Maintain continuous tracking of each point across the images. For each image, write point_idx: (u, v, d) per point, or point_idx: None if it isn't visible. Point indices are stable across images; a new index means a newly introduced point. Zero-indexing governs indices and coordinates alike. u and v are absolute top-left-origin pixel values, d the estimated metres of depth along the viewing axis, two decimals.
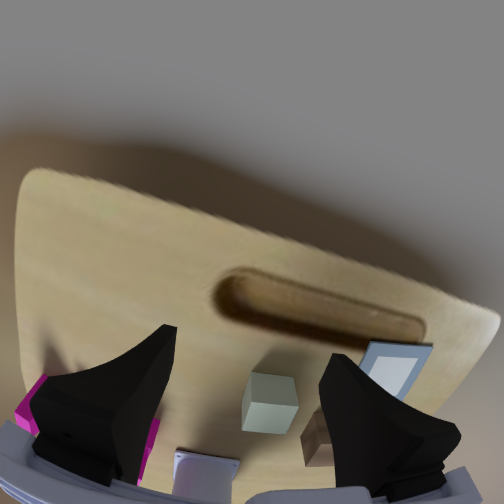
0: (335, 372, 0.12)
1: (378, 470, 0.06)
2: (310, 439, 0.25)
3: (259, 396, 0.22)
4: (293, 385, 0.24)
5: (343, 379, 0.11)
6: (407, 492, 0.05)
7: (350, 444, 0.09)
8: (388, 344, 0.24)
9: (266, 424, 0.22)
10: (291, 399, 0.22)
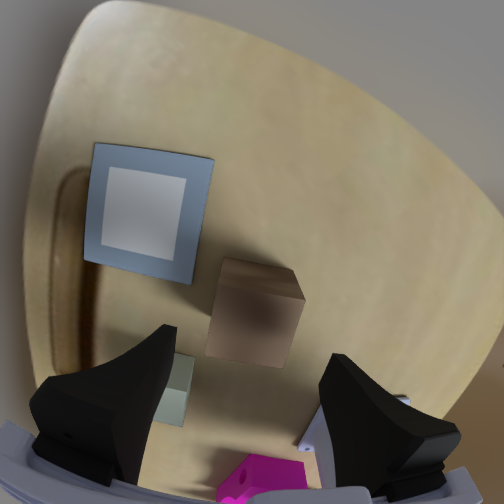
0: (335, 372, 0.12)
1: (378, 470, 0.06)
2: None
3: None
4: None
5: (343, 379, 0.11)
6: (407, 492, 0.05)
7: (350, 444, 0.09)
8: (85, 232, 0.18)
9: (165, 407, 0.17)
10: None
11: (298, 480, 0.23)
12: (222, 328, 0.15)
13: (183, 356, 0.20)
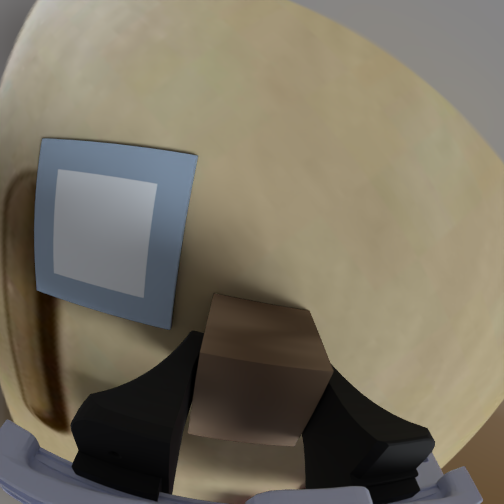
0: None
1: (343, 474, 0.06)
2: None
3: None
4: None
5: None
6: (373, 500, 0.05)
7: (319, 445, 0.09)
8: (35, 256, 0.12)
9: None
10: None
11: None
12: (210, 407, 0.10)
13: None
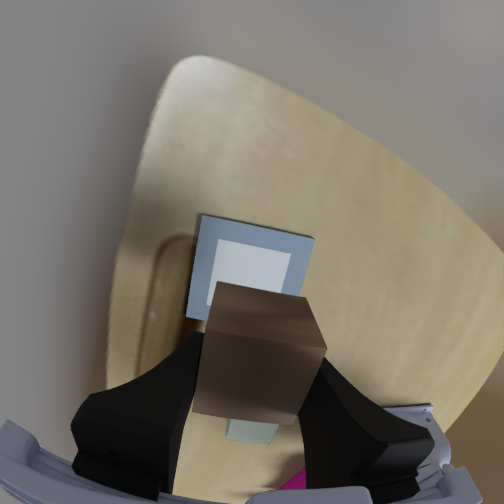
0: None
1: (343, 474, 0.06)
2: None
3: (227, 428, 0.22)
4: None
5: (315, 377, 0.11)
6: (373, 500, 0.05)
7: (319, 445, 0.09)
8: (189, 294, 0.22)
9: (260, 431, 0.21)
10: None
11: None
12: (214, 383, 0.11)
13: None
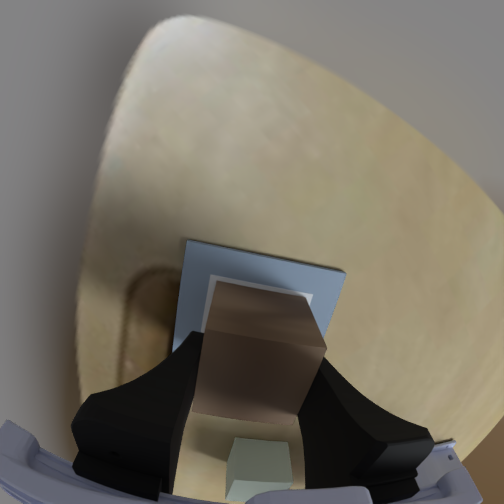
0: None
1: (342, 474, 0.06)
2: None
3: (226, 489, 0.16)
4: (234, 450, 0.17)
5: None
6: (372, 500, 0.05)
7: (318, 445, 0.09)
8: (174, 344, 0.15)
9: None
10: (232, 473, 0.15)
11: None
12: (213, 383, 0.11)
13: (277, 443, 0.18)
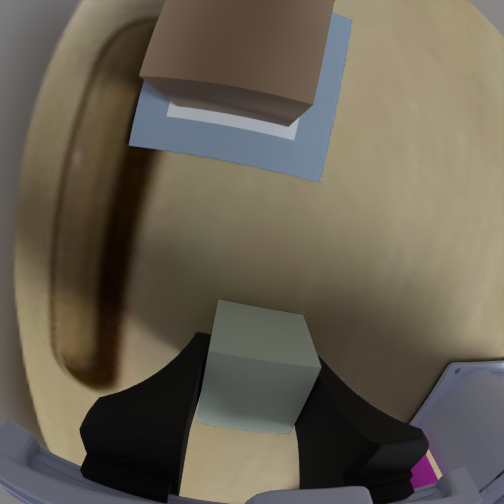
0: None
1: (335, 475, 0.06)
2: (222, 101, 0.08)
3: None
4: (215, 315, 0.12)
5: None
6: None
7: (313, 445, 0.09)
8: (140, 100, 0.10)
9: (271, 403, 0.10)
10: None
11: (426, 468, 0.15)
12: (183, 14, 0.06)
13: (286, 314, 0.13)
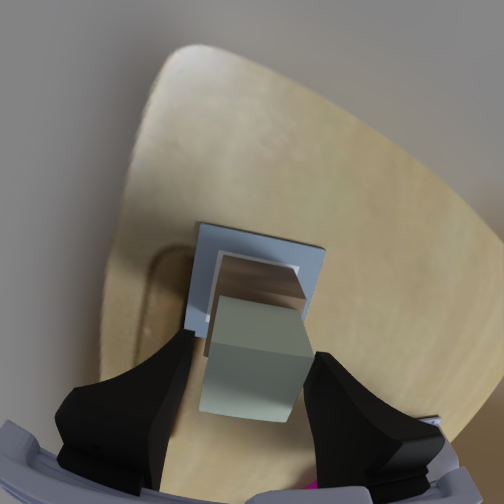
0: (318, 371, 0.12)
1: (356, 473, 0.06)
2: None
3: None
4: None
5: (325, 378, 0.11)
6: (386, 497, 0.05)
7: (331, 445, 0.09)
8: (187, 309, 0.19)
9: (268, 391, 0.11)
10: None
11: None
12: None
13: (283, 309, 0.14)
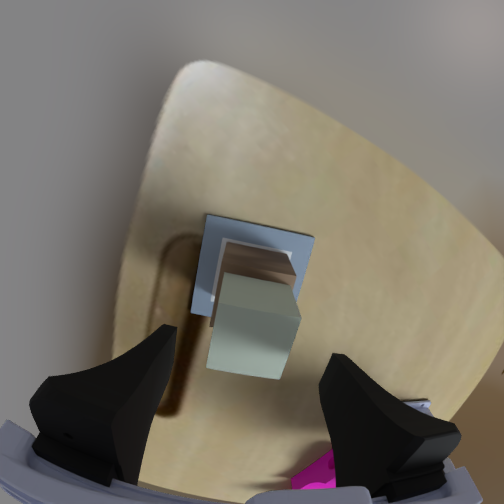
0: (335, 372, 0.12)
1: (378, 470, 0.06)
2: None
3: None
4: (222, 282, 0.16)
5: (343, 379, 0.11)
6: (407, 492, 0.05)
7: (350, 444, 0.09)
8: (194, 290, 0.22)
9: (264, 348, 0.14)
10: None
11: None
12: None
13: (277, 284, 0.17)
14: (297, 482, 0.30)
